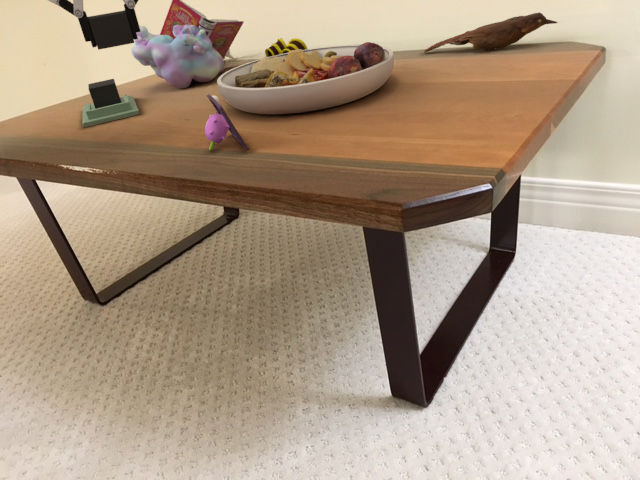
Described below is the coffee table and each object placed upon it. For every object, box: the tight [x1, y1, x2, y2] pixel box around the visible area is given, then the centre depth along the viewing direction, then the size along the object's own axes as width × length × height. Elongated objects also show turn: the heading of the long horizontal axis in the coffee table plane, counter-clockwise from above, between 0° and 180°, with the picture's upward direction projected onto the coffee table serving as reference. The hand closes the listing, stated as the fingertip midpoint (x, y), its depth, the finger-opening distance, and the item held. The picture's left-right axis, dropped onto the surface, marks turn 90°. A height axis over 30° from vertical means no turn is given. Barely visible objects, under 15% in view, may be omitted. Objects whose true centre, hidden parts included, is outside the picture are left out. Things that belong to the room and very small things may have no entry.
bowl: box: [216, 41, 395, 115], centre depth 92 cm, size 30×30×8 cm
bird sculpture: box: [423, 12, 558, 54], centre depth 103 cm, size 7×25×5 cm, turn 68°
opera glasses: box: [264, 37, 308, 57], centre depth 123 cm, size 10×5×5 cm, turn 44°
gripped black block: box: [88, 10, 135, 50], centre depth 78 cm, size 5×6×4 cm
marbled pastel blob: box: [131, 0, 245, 89], centre depth 118 cm, size 20×22×18 cm
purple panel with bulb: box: [204, 93, 249, 152], centre depth 73 cm, size 7×5×9 cm
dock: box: [82, 78, 141, 128], centre depth 104 cm, size 10×16×5 cm, turn 22°
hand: (114, 40), depth 78 cm, fingers closed on gripped black block, 5 cm apart
